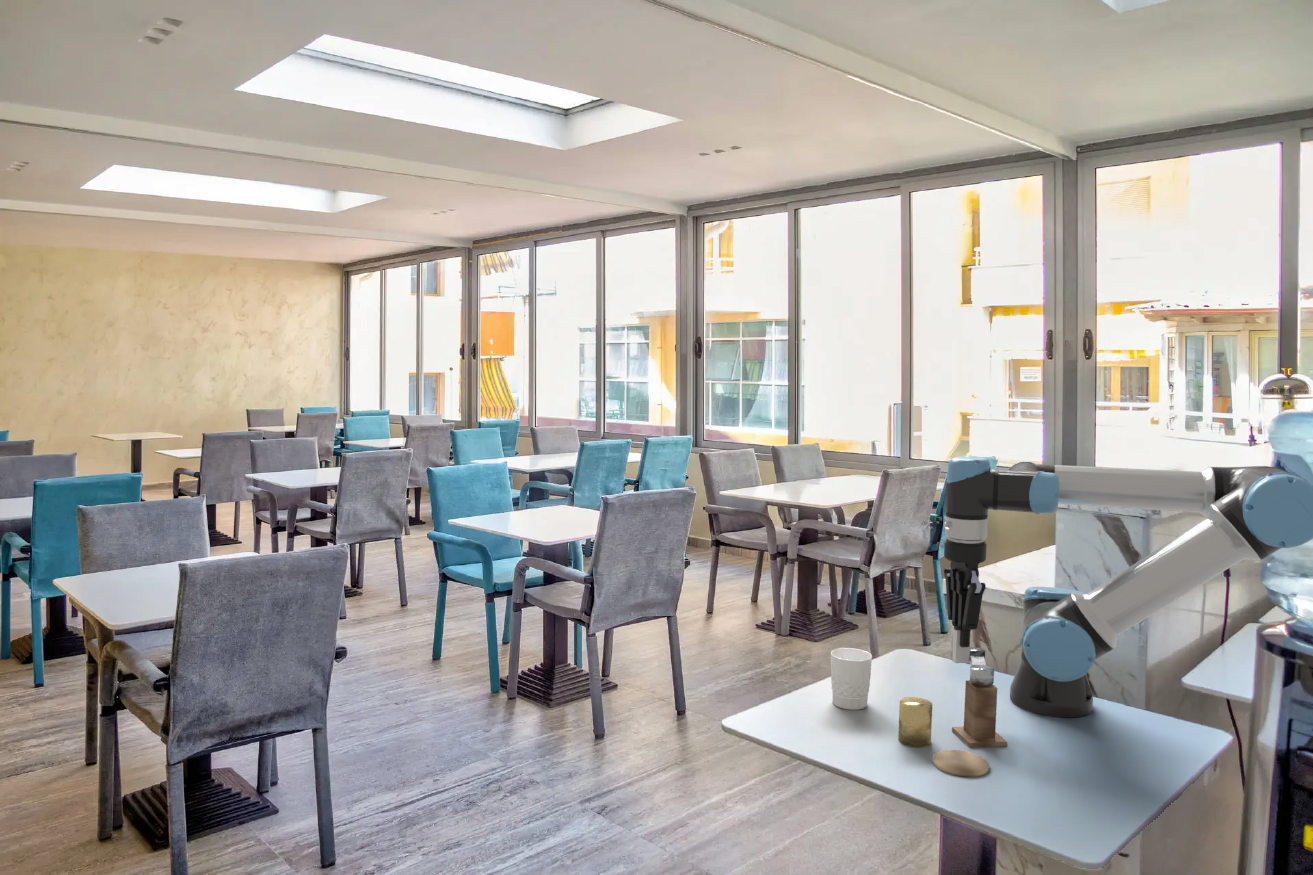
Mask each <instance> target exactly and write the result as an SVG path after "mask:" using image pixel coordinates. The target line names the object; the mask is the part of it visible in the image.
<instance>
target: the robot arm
mask: <svg viewBox="0 0 1313 875" xmlns="http://www.w3.org/2000/svg"><path fill="white" fill-rule="evenodd" d="M945 481H946V482H945V485H946V487H945V491H946V492H945V522H943V527H944V528H945V529H944V536H945V537H946V539H945V540H944V543H943V544H944V545H943V546H944V548H943V557H944V558H945V560H947V561H949V562H950V565H949V568H944V569H943V574H944V579H945V589H946V590H945V591H946V605H947V606H946V607H947V608H946V609H947V610H946V611H947V618H948V621H951V624H952V626H953V629H952V630H953V632H952V633H953V634H952V658H951V660H952V662H953V663H955V664H969V663H970V661H969V657H970V647H971V631H973V630H977V629H978V625H979V620H980V619H979V618H980V613H981V608H982V602H983V601H982V600H983V595H984V592H985V590H986V583H985V582H980V580H979V578H980V577H979V576H980V570H979V565H980V564H981V563H983V562H984V563H985V561H986V560H987V542H986V541H985V540H987V538H988V521H989V520H988V519H989V517H988V516H989V515H988V514H989V513H988V512H989V510H993V511H1008V512H1020V513H1021V512H1022V513H1034V514H1037V515H1039V514H1054V513H1056V512H1057V511H1058V508H1059V505H1073V506H1076V505H1077V506H1089V507H1103V508H1119V509H1120V508H1121V509H1136V510H1147V511H1148V510H1149V511H1150V510H1151V511H1167V512H1179V513H1180V512H1181V513H1195V514H1200V515H1202V516H1203V517H1204V518H1205V519H1203V520H1201V521H1200V522H1198V523H1197V524H1196V525H1194V526H1192V527H1191V528H1189V529H1187V530H1186V531H1184V532H1182V533H1181V534H1180V535H1178V536H1175V538H1173V539H1172V540H1170V541H1169V542H1168V541H1167V543H1165V544H1164V545H1162V546H1160V547H1158V549H1156V550H1154V551H1153V552H1151V553H1149V554H1147V555H1146V556H1145V557H1143V558H1142V559H1140V560H1138V561H1136V562H1135V563H1134V564H1132V565H1130V566H1129V567H1127V568H1126V569H1124V570H1123V571H1120V572H1119V573H1118V574H1116V575H1115V576H1113V577H1111V578H1110V579H1107V581H1105V582H1104V583H1102V584H1100V585H1099V586H1097V587H1096V588H1094V589H1092V590H1090V591H1089V592H1088V593H1085V592H1083V591H1080V590H1075V589H1069V588H1062V587H1053V586H1052V587H1051V586H1049V587H1048V586H1030V587H1027V588H1026V589H1025V592H1024V597H1023V599H1022V603H1023V610H1022V614H1023V615H1022V616H1023V617H1022V633H1021V634H1022V635H1021V636H1022V637H1021V655H1020V662H1019V665H1018V666H1017V670H1016V672H1015V674H1014V677H1013V679H1012V681H1011V684H1010V687H1009V699H1010V701H1011V702H1012V703H1013V704H1014V705H1016V706H1017V707H1019V708H1021V709H1023V710H1026V711H1029V712H1033V713H1035V714H1040V715H1043V716H1049V717H1057V718H1079V717H1084V716H1088V715H1089V714H1091V713H1092V711H1094V710H1093V708H1094V697H1093V693H1092V689H1091V686H1090V683H1089V679H1088V675H1087V674H1088V672H1089V671H1090V670H1091V668H1092V667H1093V666H1094V664H1095V662H1096V660H1097V659H1099V658H1101V657H1103V656H1104V655H1106V654H1108V653H1109V652H1111V651H1112V650H1115V649H1116V648H1117V640H1118V637H1119V636H1120V635H1121V634H1123V633H1124V632H1126V631H1128V630H1129V629H1131V628H1132V627H1135V626H1136V625H1138V624H1139V623H1141V622H1142V621H1144V620H1146V619H1148V618H1149V617H1151V616H1152V615H1154V614H1156V613H1158V612H1159V611H1161V610H1162V609H1164V608H1165V607H1168V606H1169V605H1170V604H1173V603H1174V602H1175V601H1178V600H1179V599H1180V598H1182V597H1184V596H1185V595H1187V594H1189V593H1191V591H1194V590H1195V589H1197V588H1198V587H1201V586H1202V585H1203V584H1206V583H1207V582H1209V581H1210V580H1212V579H1214V578H1215V577H1217V576H1218V575H1220V574H1222V573H1223V572H1225V571H1227V570H1228V569H1230V568H1231V567H1233V566H1236V565H1237V564H1238V563H1240V562H1242V561H1243V560H1244V561H1245V560H1249V561H1256V562H1261V561H1262V560H1264V559H1266V558H1267V557H1269V556H1271V555H1273V554H1274V553H1276V552H1277V551H1279V550H1281V549H1290V548H1295V547H1299V546H1303V545H1304V544H1306V543H1308V542H1310V541H1311V540H1313V485H1312V484H1311V483H1310V482H1309V481H1308V480H1307V479H1305V478H1303V477H1302V476H1300V475H1297V474H1295V473H1291V472H1288V471H1286V470H1283V469H1281V468H1278V467H1275V466H1267V465H1257V466H1256V465H1254V466H1250V465H1249V466H1229V467H1228V466H1219V467H1218V466H1208V467H1207V468H1205V469H1204V470H1202V471H1191V470H1188V471H1187V470H1169V469H1168V470H1167V469H1166V470H1165V469H1151V468H1150V469H1149V468H1148V469H1147V468H1143V469H1142V468H1129V467H1127V468H1126V467H1108V466H1107V467H1102V466H1086V465H1085V466H1083V465H1064V464H1063V465H1062V464H1061V465H1060V464H1054V465H1053V464H1042V463H1041V464H1039V463H1037V464H1036V463H1034V462H1032V461H1020V462H1017V463H1013V465H1011V466H1010V467H1009V468H1008V469H995V468H992V467H991V462H990V460H989V459H988V458H985V457H976V456H955V457H952V458H951V459H950V460H949V461H948V464H947V474H946V480H945Z"/></svg>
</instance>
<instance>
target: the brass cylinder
mask: <svg viewBox="0 0 1313 875" xmlns="http://www.w3.org/2000/svg"><path fill="white" fill-rule="evenodd" d="M898 712H899V713H898V736H897V737H898V742H899V743H900V744H902V745H904V746H907V747H911V748H915V749H916V748H917V749H918V748H919V749H920V748H926V747H929V746H930V745H932V730H933V729H932V728H933V726H932V725H933V724H932V722H933V702H932V701H930V700H928V699H926V698H922V697H918V696H917V697H915V696H906V697H903V698H901V699H899V710H898Z"/></svg>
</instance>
